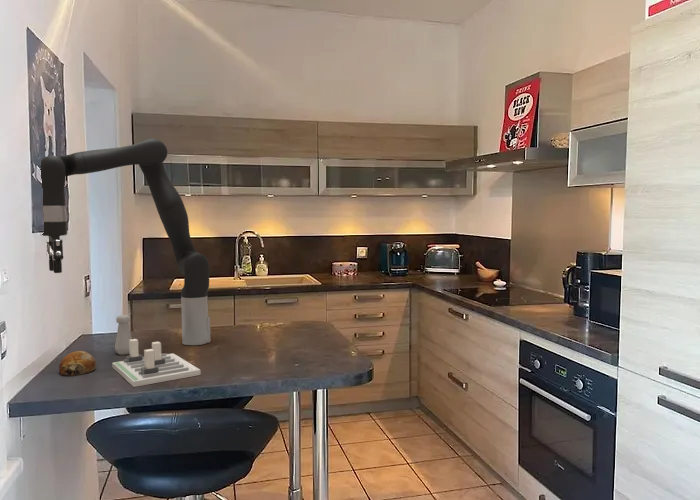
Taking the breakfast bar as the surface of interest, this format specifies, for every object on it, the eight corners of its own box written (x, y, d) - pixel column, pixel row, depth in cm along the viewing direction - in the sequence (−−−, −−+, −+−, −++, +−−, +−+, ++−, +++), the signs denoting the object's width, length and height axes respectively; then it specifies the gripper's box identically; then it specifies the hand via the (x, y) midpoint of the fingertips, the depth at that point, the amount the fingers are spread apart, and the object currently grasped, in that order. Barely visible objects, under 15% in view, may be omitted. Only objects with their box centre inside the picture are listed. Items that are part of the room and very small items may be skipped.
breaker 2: (155, 371, 162) (154, 348, 162) (158, 374, 160) (157, 350, 159) (141, 374, 160) (140, 350, 159) (144, 376, 158) (143, 352, 157)
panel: (173, 357, 184) (173, 350, 184) (200, 374, 165) (200, 367, 165) (112, 367, 173) (112, 360, 173) (133, 386, 154) (133, 378, 153)
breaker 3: (162, 363, 171) (161, 340, 171) (165, 365, 169) (164, 342, 168) (148, 365, 169) (148, 342, 169) (151, 367, 167) (151, 344, 166)
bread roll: (99, 381, 171) (106, 355, 173) (74, 376, 162) (83, 348, 164) (73, 378, 174) (81, 353, 177) (48, 372, 165) (56, 346, 168)
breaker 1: (139, 360, 175) (138, 338, 175) (142, 362, 173) (141, 339, 172) (126, 362, 173) (125, 339, 172) (128, 364, 170) (128, 341, 170)
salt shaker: (126, 355, 187) (125, 317, 186) (111, 355, 188) (110, 316, 187) (136, 351, 193) (135, 314, 192) (121, 350, 194) (120, 313, 193)
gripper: (70, 220, 172) (72, 273, 173) (62, 220, 183) (64, 269, 184) (43, 220, 167) (45, 274, 168) (36, 220, 179) (38, 270, 180)
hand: (55, 271), depth 176 cm, fingers open, 8 cm apart
